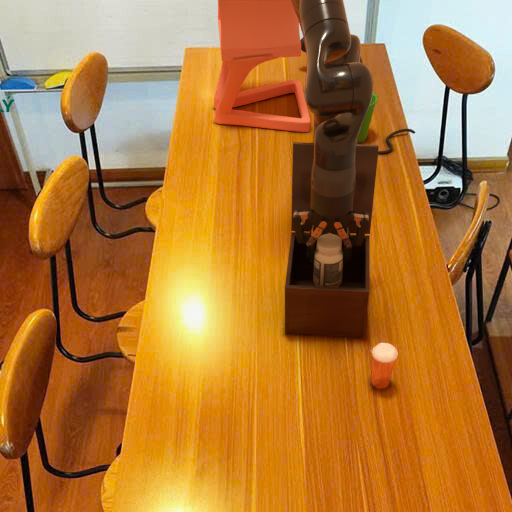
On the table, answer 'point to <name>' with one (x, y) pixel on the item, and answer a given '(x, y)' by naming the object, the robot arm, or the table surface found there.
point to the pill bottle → (328, 261)
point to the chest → (327, 295)
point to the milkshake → (383, 364)
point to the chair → (257, 60)
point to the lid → (362, 189)
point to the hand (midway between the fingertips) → (328, 259)
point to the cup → (367, 120)
